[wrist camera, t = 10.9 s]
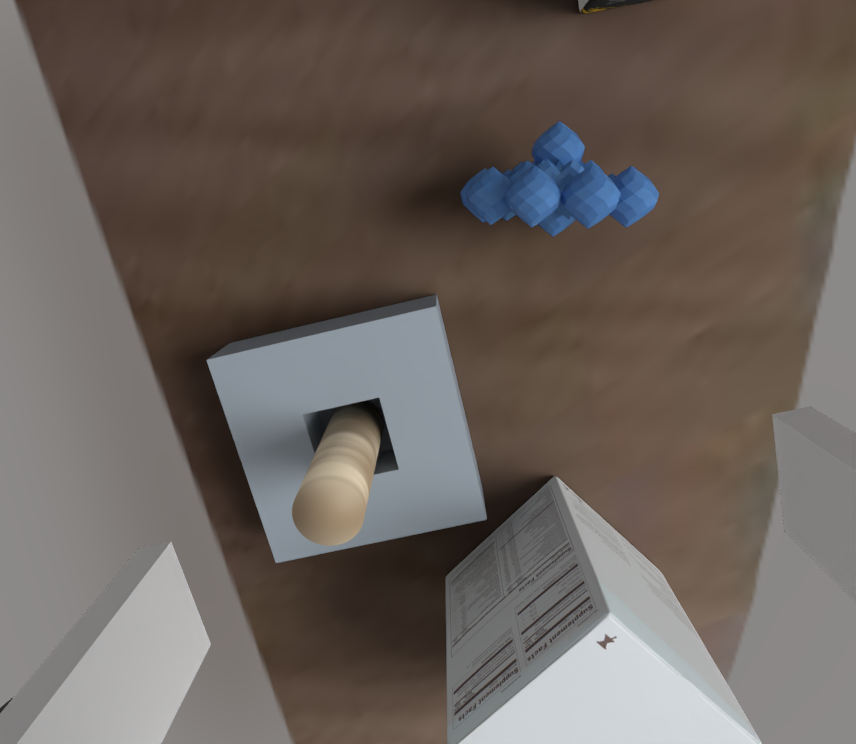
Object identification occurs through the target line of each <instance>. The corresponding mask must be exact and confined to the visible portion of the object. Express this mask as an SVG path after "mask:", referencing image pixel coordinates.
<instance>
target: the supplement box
mask: <svg viewBox="0 0 856 744" xmlns="http://www.w3.org/2000/svg"><path fill="white" fill-rule="evenodd" d="M445 583H446V651H447V744H762V743H761V741H760V739H759V738H758V736H757V734H756V733H755V731H754V729H753V727H752V726H751V724H750V722H749V721H748V719H747V717H746V715H745V714H744V712H743V710H742V709H741V707H740V705H739V703H738V702H737V700H736V698H735V697H734V695H733V693H732V691H731V689H730V688H729V686H728V684H727V683H726V681H725V679H724V678H723V676H722V674H721V673H720V671H719V669H718V668H717V666H716V664H715V663H714V661H713V659H712V658H711V656H710V654H709V653H708V651H707V649H706V647H705V646H704V644H703V642H702V641H701V639H700V637H699V635H698V634H697V632H696V630H695V629H694V627H693V625H692V624H691V622H690V620H689V619H688V617H687V615H686V614H685V612H684V610H683V608H682V607H681V605H680V603H679V602H678V600H677V598H676V597H675V595H674V593H673V591H672V590H671V588H670V586H669V585H668V583H667V581H666V579H665V578H664V576H663V574H662V573H661V572H660V571H659V570H658V569H657V568H656V567H655V566H654V565H653V564H652V563H651V562H650V561H649V560H648V559H647V558H645V557H644V556H643V555H642V554H641V553H640V552H639V551H638V550H637V549H636V548H634V547H633V546H632V545H631V544H630V543H629V542H628V541H627V540H626V539H625V538H623V537H622V536H621V535H620V534H619V533H618V532H617V531H616V530H615V529H614V528H613V527H611V526H610V525H609V524H608V523H607V522H606V521H605V520H604V519H603V518H602V517H600V516H599V515H598V514H597V513H596V512H595V511H594V510H593V509H592V508H591V507H589V506H588V505H587V504H586V503H585V502H584V501H583V500H582V499H581V498H580V497H578V496H577V495H576V494H575V493H574V492H573V491H572V490H571V489H570V488H569V487H568V486H566V485H565V484H564V483H563V482H562V481H561V480H560V479H559V478H558V477H556V476H554V477H553V478H551V479H550V480H549V481H548V482H547V483H546V484H545V485H544V486H543V487H542V488H541V489H540V490H539V491H537V492H536V493H535V494H534V495H533V496H532V497H531V498H530V499H529V500H528V501H527V502H525V503H524V504H523V505H522V506H521V507H520V508H519V509H518V510H517V511H516V512H515V513H514V514H512V515H511V516H510V517H509V518H508V519H507V520H506V521H505V522H504V523H503V524H502V525H500V526H499V527H498V528H497V529H496V530H495V531H494V532H493V533H492V534H491V535H490V536H489V537H487V538H486V539H485V540H484V541H483V542H482V543H481V544H480V545H479V546H478V547H477V548H476V549H474V550H473V551H472V552H471V553H470V554H469V555H468V556H467V557H466V558H465V559H464V560H463V561H461V562H460V563H459V564H458V565H457V566H456V567H455V568H454V569H453V570H452V571H451V572H450V573H449V574H448V575H447V576H446V578H445Z"/></svg>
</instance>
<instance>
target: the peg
mask: <svg viewBox="0 0 856 744" xmlns="http://www.w3.org/2000/svg"><path fill="white" fill-rule="evenodd" d="M383 429H384V419H383V415H382V413H381V411H380V410H379V408H378V407H377V406H376V405H375V404H373V403H372V402H370V401H368V400H366V401H361V402H357V403H352V404H348V405H343V406H339V407H337V408H336V409H335V411H334V412H333V415H332V417H331V419H330V421H329V424H328V426H327V428H326V430H325V433H324V435H323V437H322V439H321V441H320V444H319V446H318V448H317V450H316V453H315V455H314V457H313V459H312V462H311V464H310V466H309V468H308V470H307V473H306V475H305V477H304V479H303V482H302V484H301V486H300V488H299V491H298V493H297V495H296V497H295V500H294V502H293V506H292V517H293V521H294V524H295V526H296V528H297V529H298V531H299V532H300V533H301V534H302V535H303V536H304V537H305V538H307V539H308V540H310V541H312V542H314V543H317V544H320V545H326V546H334V545H340V544H343V543H345V542H347V541H349V540H351V539H352V538H354V537H355V536H356V535H357V533H358V532H359V531H360V529H361V527H362V525H363V521H364V517H365V512H366V507H367V503H368V498H369V493H370V489H371V484H372V480H373V475H374V470H375V466H376V461H377V456H378V452H379V447H380V443H381V438H382V433H383Z"/></svg>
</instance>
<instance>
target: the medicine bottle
mask: <svg viewBox="0 0 856 744" xmlns="http://www.w3.org/2000/svg"><path fill="white" fill-rule="evenodd" d="M646 1H651V0H578V4H579V10H580V12H581V13H590V12H595V11H600V10H605V9H610V8H616V7H621V6H626V5H631V4H636V3H641V2H646Z"/></svg>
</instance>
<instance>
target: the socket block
mask: <svg viewBox="0 0 856 744" xmlns="http://www.w3.org/2000/svg"><path fill="white" fill-rule="evenodd" d="M207 363H208V366H209V369H210V372H211V375H212V378H213V381H214V384H215V387H216V390H217V392H218V395H219V398H220V401H221V404H222V407H223V410H224V413H225V416H226V419H227V422H228V425H229V428H230V430H231V433H232V436H233V439H234V442H235V445H236V448H237V451H238V454H239V457H240V460H241V463H242V466H243V468H244V471H245V474H246V477H247V480H248V483H249V486H250V489H251V492H252V495H253V498H254V501H255V504H256V506H257V509H258V512H259V515H260V518H261V521H262V524H263V527H264V530H265V533H266V536H267V539H268V542H269V544H270V547H271V550H272V553H273V556H274V559H275V562H276V563H279V562H284V561H289V560H293V559H298V558H303V557H308V556H313V555H318V554H323V553H327V552H332V551H337V550H342V549H347V548H352V547H357V546H361V545H366V544H371V543H376V542H381V541H386V540H391V539H395V538H400V537H405V536H410V535H415V534H420V533H425V532H429V531H434V530H439V529H444V528H449V527H454V526H459V525H463V524H468V523H473V522H478V521H483V520H487V515H486V508H485V502H484V495H483V488H482V484H481V480H480V475H479V471H478V467H477V463H476V459H475V454H474V450H473V446H472V442H471V437H470V433H469V429H468V425H467V421H466V416H465V412H464V408H463V404H462V400H461V395H460V391H459V387H458V383H457V378H456V374H455V370H454V366H453V362H452V357H451V353H450V349H449V345H448V341H447V336H446V332H445V328H444V324H443V319H442V315H441V311H440V307H439V303H438V298H437V294H436V295H432V296H428V297H423V298H419V299H415V300H411V301H406V302H402V303H398V304H394V305H389V306H385V307H381V308H377V309H372V310H368V311H364V312H360V313H355V314H351V315H347V316H343V317H338V318H334V319H330V320H326V321H321V322H317V323H313V324H309V325H304V326H300V327H296V328H292V329H287V330H283V331H279V332H275V333H270V334H266V335H262V336H258V337H254V338H249V339H245V340H241V341H237V342H232V343H229V344H228V345H226V346H225V347H224V348H222V349H221V350H219V351H218V352H217V353H215V354H214V355H213V356H211V357H210V358H209V359H207ZM366 400H368V401H370V402H372V403H373V404H375V405H376V406H377V407H378V408H379V410H380V411H381V413H382V415H383V419H384V429H383V433H382V438H381V443H380V447H379V452H378V456H377V461H376V466H375V470H374V475H373V480H372V484H371V489H370V493H369V498H368V503H367V507H366V512H365V517H364V521H363V525H362V527H361V529H360V531H359V532H358V533H357V535H356V536H355V537H354V538H352V539H351V540H349V541H347V542H345V543H343V544H340V545H334V546H326V545H320V544H317V543H314V542H312V541H310V540H308V539H307V538H305V537H304V536H303V535H302V534H301V533H300V532H299V531H298V529H297V528H296V526H295V524H294V521H293V517H292V506H293V502H294V500H295V497H296V495H297V493H298V491H299V488H300V486H301V484H302V482H303V479H304V477H305V475H306V473H307V470H308V468H309V466H310V464H311V462H312V459H313V457H314V455H315V453H316V450H317V448H318V446H319V444H320V441H321V439H322V437H323V435H324V433H325V430H326V428H327V426H328V424H329V421H330V419H331V417H332V415H333V412H334V411H335V409H336V408H337V407H339V406H343V405H348V404H352V403H357V402H361V401H366Z"/></svg>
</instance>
